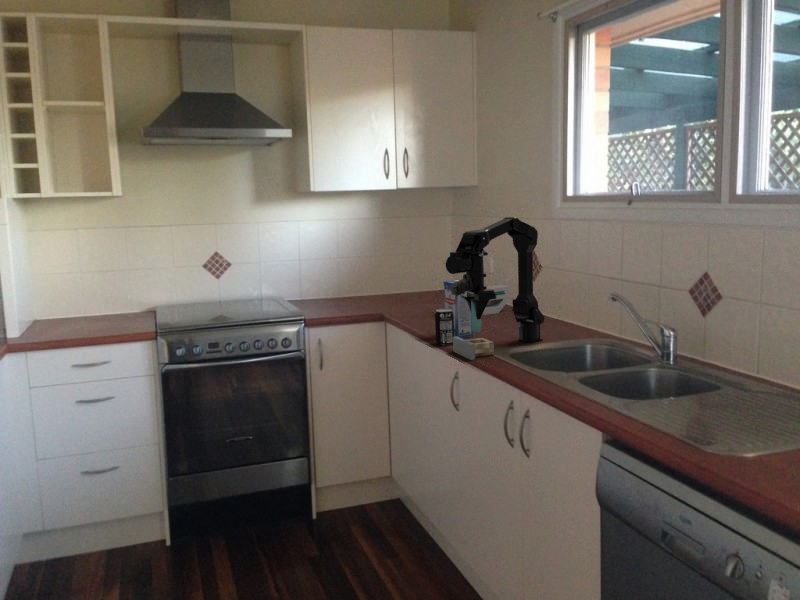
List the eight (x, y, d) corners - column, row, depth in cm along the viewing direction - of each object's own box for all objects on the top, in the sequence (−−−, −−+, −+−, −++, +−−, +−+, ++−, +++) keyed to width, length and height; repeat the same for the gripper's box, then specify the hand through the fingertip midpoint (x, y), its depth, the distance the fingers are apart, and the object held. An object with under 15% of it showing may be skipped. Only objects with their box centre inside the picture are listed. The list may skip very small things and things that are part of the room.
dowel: (478, 329, 237) (477, 299, 236) (482, 331, 234) (481, 300, 233) (470, 330, 236) (469, 300, 235) (474, 332, 233) (473, 301, 232)
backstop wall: (457, 351, 242) (457, 336, 241) (475, 359, 228) (474, 343, 228) (453, 351, 241) (452, 336, 240) (470, 359, 228) (470, 344, 227)
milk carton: (445, 334, 271) (443, 281, 268) (460, 332, 273) (458, 279, 270) (457, 338, 262) (456, 283, 259) (473, 336, 264) (471, 282, 261)
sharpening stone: (462, 317, 304) (461, 292, 303) (453, 315, 311) (452, 290, 310) (511, 311, 315) (511, 286, 314) (501, 308, 322) (500, 284, 321)
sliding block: (483, 349, 241) (482, 337, 241) (493, 354, 234) (493, 342, 233) (461, 352, 239) (460, 340, 238) (471, 357, 231) (470, 344, 231)
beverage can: (443, 341, 259) (442, 308, 257) (458, 342, 254) (457, 309, 253) (432, 344, 254) (430, 310, 252) (447, 346, 249) (446, 312, 248)
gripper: (440, 270, 239) (442, 316, 241) (463, 275, 221) (465, 325, 223) (471, 267, 242) (473, 313, 244) (496, 272, 224) (497, 322, 227)
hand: (476, 318), depth 235 cm, fingers closed on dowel, 3 cm apart
